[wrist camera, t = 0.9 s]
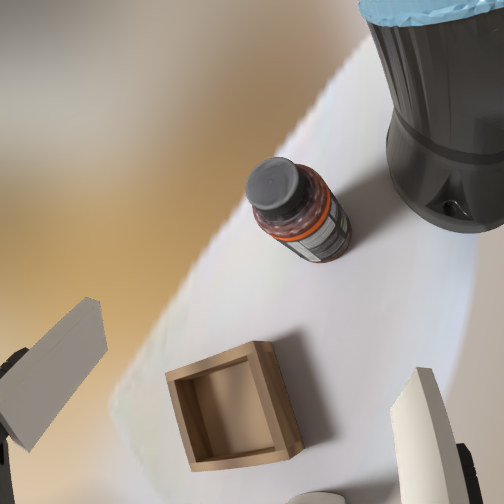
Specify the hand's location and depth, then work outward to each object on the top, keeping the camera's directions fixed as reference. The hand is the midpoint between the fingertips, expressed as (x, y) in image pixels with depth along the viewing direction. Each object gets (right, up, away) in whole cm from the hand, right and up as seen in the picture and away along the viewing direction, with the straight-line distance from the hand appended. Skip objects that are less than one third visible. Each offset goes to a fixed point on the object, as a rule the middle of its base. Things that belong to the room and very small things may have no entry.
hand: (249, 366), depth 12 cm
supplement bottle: (+7, +6, +19) cm, 21 cm away
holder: (-1, -11, +17) cm, 21 cm away
